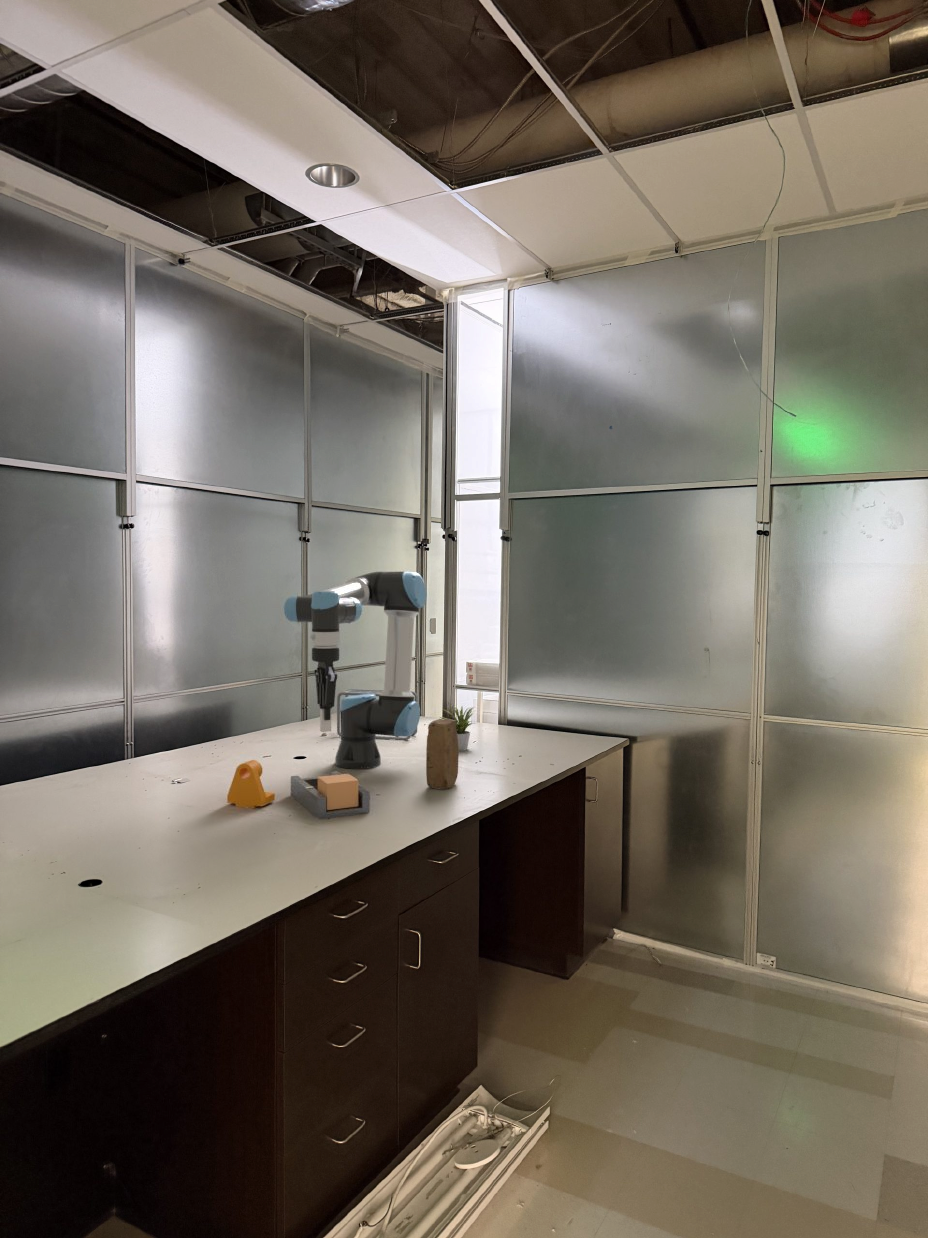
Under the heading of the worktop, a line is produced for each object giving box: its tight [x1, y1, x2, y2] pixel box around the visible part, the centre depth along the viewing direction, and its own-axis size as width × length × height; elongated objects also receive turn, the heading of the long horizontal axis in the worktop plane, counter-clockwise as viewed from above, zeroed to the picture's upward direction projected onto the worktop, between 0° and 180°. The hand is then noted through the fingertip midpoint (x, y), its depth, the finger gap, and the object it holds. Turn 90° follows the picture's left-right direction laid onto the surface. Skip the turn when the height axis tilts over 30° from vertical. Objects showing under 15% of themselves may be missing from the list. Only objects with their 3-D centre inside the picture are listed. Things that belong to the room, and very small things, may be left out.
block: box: [425, 718, 459, 790], centre depth 246 cm, size 11×8×20 cm
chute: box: [290, 771, 371, 820], centre depth 226 cm, size 26×14×6 cm, turn 28°
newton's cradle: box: [336, 688, 419, 741], centre depth 323 cm, size 30×10×18 cm, turn 78°
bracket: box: [226, 759, 276, 809], centre depth 225 cm, size 11×7×12 cm, turn 73°
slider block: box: [317, 773, 359, 810], centre depth 219 cm, size 8×9×7 cm
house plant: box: [439, 705, 477, 752], centre depth 301 cm, size 14×14×16 cm
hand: (325, 731), depth 228 cm, fingers closed
